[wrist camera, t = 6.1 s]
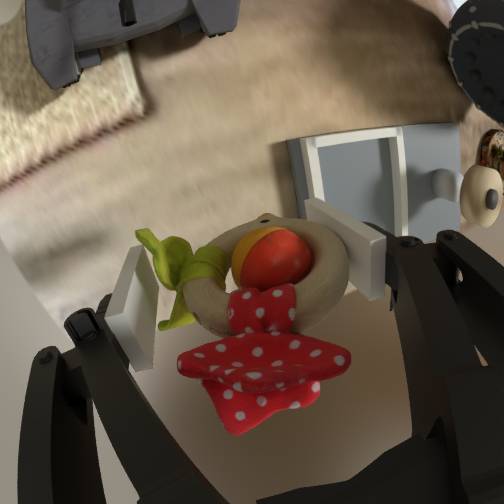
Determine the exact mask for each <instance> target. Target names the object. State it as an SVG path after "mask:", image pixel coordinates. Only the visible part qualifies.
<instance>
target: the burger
mask: <svg viewBox="0 0 504 504" xmlns="http://www.w3.org/2000/svg"><path fill="white" fill-rule="evenodd" d="M487 134H488V135H491V136H490V137H487V138H485V139H484V141H483V143H482V144H483V146H482V147H481V148H482V150H483V151H482V156H483V157H482V160H481V161H480V166H484V167H488V168H491V169H495V170H496V171H497V172H498V173H499V175H500V177H501V180H502V185H503V195H504V131H503V130H496V129H492V131H490V132H489V133H487Z"/></svg>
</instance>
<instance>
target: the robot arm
mask: <svg viewBox="0 0 504 504" xmlns="http://www.w3.org/2000/svg"><path fill="white" fill-rule="evenodd" d="M304 202H305V209H306V216H307V220H308V221H311V222H315V223H318V224H320V225H322V226H324V227H326V228H328V229H329V230H331V231H332V232H334V233H335V234H336V235H337V236H338V237H339V238H340V239H341V241H342V242H343V244H344V246H345V248H346V250H347V254H348V259H349V268H350V272H349V281H350V282H351V283H352V284H353V285H354V286H355V287H356V288H357V289H358V290H359V291H360V292H361V293H362V294H364V296H366V298H367V299H369V300H370V301H372V300H375V299H377V298H380V297H382V296H384V295H385V284H388V285H389V286H390V287H391V301H390V311H392V308H393V309H394V313H395V317H396V322H397V327H398V332H399V337H400V342H401V347H402V353H403V359H404V365H405V372H406V378H407V384H408V393H409V401H410V410H411V419H412V437H411V438H409V439H407V440H406V441H404V442H402V443H400V444H399V445H397V446H395V447H393V448H391V449H389V450H388V451H386V452H384V453H383V454H382V455H380V456H379V457H378V458H377V459H376V460H374V461H373V462H372V463H371V464H370V465H368V466H367V467H366V468H364V469H363V470H362V471H360V472H359V473H358V474H357V475H355V476H354V477H352V478H351V479H349V480H347V481H343V482H338V483H332V484H325V485H319V486H311V487H303V488H298V489H295V490H292V491H288V492H285V493H281V494H278V495H274V496H271V497H267V498H263V499H259V500H256V503H257V504H504V267H503V266H502V265H501V264H500V263H498V262H497V261H496V260H495V259H494V258H492V257H491V256H490V255H489V254H487V253H486V252H485V251H483V250H482V249H481V248H480V247H478V246H477V245H476V244H474V243H473V242H472V241H470V240H469V239H468V238H466V237H465V236H464V235H462V234H461V233H459V232H456V231H454V230H449V229H447V230H442V231H439V232H438V233H437V236H436V243H429V244H424V243H423V241H422V240H421V239H419V238H417V237H414V236H400V237H396V236H394V235H393V234H391V233H389V232H387V231H385V230H384V229H382V228H380V227H379V226H377V225H375V224H373V223H369V222H365V221H364V222H361V221H359V220H357V219H355V218H354V217H352V216H350V215H348V214H347V213H345V212H343V211H341V210H339V209H337V208H336V207H334V206H332V205H330V204H328V203H326V202H324V201H323V200H321V199H319V198H317V197H316V198H311V199H307V200H304ZM460 271H461V273H462V276H463V281H462V282H461V281H460V280H459V273H460ZM158 294H159V285H158V283H157V280H156V278H155V275H154V272H153V270H152V267H151V265H150V262H149V259H148V256H147V254H146V251H145V248H144V245H143V244H142V245H138V246H135V247H132V248H130V250H129V252H128V255H127V257H126V260H125V262H124V265H123V267H122V270H121V273H120V275H119V278H118V280H117V283H116V286H115V288H114V291H113V293H111V294H108V295H106V296H105V297H104V298H103V299H102V300H101V301H100V303H99V306H98V309H97V311H96V314H95V312H94V310H93V309H92V308H83V309H80V310H78V311H76V312H74V313H73V314H71V315H70V316H69V317H68V318H67V319H66V321H65V322H64V328H65V329H66V331H67V333H68V334H69V336H70V338H71V339H72V341H73V342H74V344H75V348H73V349H71V350H69V351H67V352H65V353H62V354H61V353H60V351H59V350H58V348H56V346H49V347H47V348H43V349H42V350H41V351H39V352H38V353H37V355H36V356H35V357H34V360H33V362H32V367H31V371H30V376H29V381H28V386H27V391H26V396H25V402H24V409H23V415H22V423H21V431H20V441H19V454H18V481H17V482H18V483H17V484H18V486H17V488H18V504H106V499H105V495H104V489H103V484H102V479H101V473H100V467H99V460H98V453H97V446H96V437H95V427H94V416H93V402H94V404H95V407H96V409H97V412H98V414H99V417H100V419H101V421H102V424H103V426H104V428H105V431H106V433H107V435H108V437H109V439H110V441H111V444H112V446H113V448H114V450H115V452H116V454H117V456H118V458H119V460H120V462H121V464H122V466H123V468H124V470H125V472H126V473H127V475H128V477H129V479H130V481H131V482H132V484H133V486H134V488H135V489H136V491H137V493H138V495H139V497H140V499H139V500H138V501H137V504H230V503H229V502H228V501H227V500H226V499H225V498H224V497H223V496H222V495H221V494H220V493H219V492H218V491H217V490H216V489H215V487H214V486H213V485H212V484H211V483H210V482H209V481H208V480H207V478H205V476H204V475H203V474H202V473H201V472H200V470H199V469H198V468H197V467H196V466H195V464H194V463H193V462H192V461H191V459H190V458H189V457H188V456H187V454H186V453H185V452H184V451H183V449H182V448H181V447H180V446H179V444H178V443H177V442H176V440H175V439H174V438H173V436H172V435H171V434H170V432H169V431H168V430H167V428H166V427H165V425H164V424H163V422H162V421H161V420H160V418H159V417H158V415H157V414H156V412H155V411H154V409H153V408H152V406H151V405H150V403H149V402H148V401H147V399H146V397H145V396H144V394H143V393H142V391H141V390H140V388H139V386H138V385H137V383H136V381H135V380H134V378H133V377H132V375H131V373H130V372H129V370H128V369H129V362H130V364H131V365H132V367H133V368H134V370H135V372H138V371H143V370H147V369H152V368H153V356H154V355H153V354H154V339H155V327H156V315H157V304H158ZM474 345H475V346H476V348H477V349H478V351H479V352H480V353H481V355H482V356H483V358H484V359H485V361H486V362H487V364H488V365H487V366H482V364H481V362H480V360H479V357H478V354H477V352H476V349H475V347H474ZM92 399H93V401H92Z"/></svg>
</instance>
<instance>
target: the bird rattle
mask: <svg viewBox="0 0 504 504" xmlns="http://www.w3.org/2000/svg"><path fill="white" fill-rule="evenodd" d="M135 234H136V237H137V239H138V240H139V241H140V242H141V243H142V244H143V245H144V246H145V247H146V248H147V249H148V250H149V251H150V252H151V253H152V255H153V264H154V268H155V272H156V274H157V277H158V279H159V281H160V282H161V283H162V284H163V285H164V286H165V287H166V288H167V289H169V290H175V291H176V292H177V294H176V299H175V303H174V307H173V310H172V313H171V316H170V320H164V321H160V322H159V324H158V329H159V330H160V331H165V330H168V329H171V328H175V327H180V326H184V325H188V324H190V323H192V322H194V321H197V322H198V323H199V324H200V325H201V326H203V327H204V328H205V329H206V330H208V331H209V332H211V333H212V334H214V335H216V336H219V337H221V338H224V339H222V340H219V341H215V342H211V343H207V344H204V345H202V346H200V347H197V348H195V349H192V350H190V351H187V352H184V353H182V354H181V355H179V356H178V359H177V369H178V372H179V373H180V374H182V375H183V376H186V377H189V378H197V380H198V382H199V383H200V384H201V385H202V386H203V387H204V388H205V389H206V391H207V393H208V394H209V396H210V397H211V400H212V402H213V404H214V406H215V408H216V411H217V413H218V415H219V418H220V419H221V422H222V424H223V426H224V428H225V429H226V430H227V431H228V432H229V433H230V434H232V435H241V434H242V433H244V432H246V431H248V430H249V429H251V428H253V427H255V426H256V425H258V424H259V423H261V422H262V421H264V420H265V419H266V418H268V417H269V416H271V415H272V414H273V413H275V412H277V411H280V410H283V409H291V408H303V407H306V406H308V405H310V404H311V403H313V402H314V401H315V399H316V398H317V397H318V396H319V394H320V382H319V381H322V380H326V379H330V378H333V377H336V376H339V375H341V374H343V373H344V372H345V371H347V369H348V368H349V366H350V364H351V353H350V352H349V351H348V350H347V349H345V348H342V347H340V346H337V345H335V344H331V343H329V342H325V341H321V340H318V339H316V338H313V337H310V336H306V335H301V334H302V333H303V332H305V331H307V330H309V329H310V328H312V327H314V326H315V325H316V324H318V323H319V322H320V321H322V320H323V319H324V318H325V317H326V316H327V315H329V314H330V313H331V311H332V310H333V309H334V308H335V307H336V306H337V304H338V303H339V301H340V300H341V298H342V296H343V294H344V292H345V290H346V287H347V284H348V280H349V272H350V268H349V259H348V254H347V250H346V248H345V246H344V244H343V242H342V241H341V239H340V238H339V237H338V236H337V235H336V234H335V233H334V232H332V231H331V230H329V229H328V228H326V227H324V226H322V225H320V224H318V223H315V222H311V221H308V220H303V219H297V218H281V217H276V216H274V215H273V214H270V213H265V214H263V215H261V216H260V217H258V218H257V219H256V220H254V221H251V222H248V223H245V224H243V225H240V226H237V227H235V228H233V229H231V230H229V231H227V232H225V233H223V234H222V235H220V236H218V237H217V238H215V239H213V240H212V241H211V242H209V243H208V244H207V245H205V246H203V247H201V248H199V249H198V250H197V251H196V252H195V254H194V255H193V252H192V249H191V246H190V244H189V243H188V242H187V241H186V240H184V239H183V238H180V237H176V236H171V237H168V238H166V239H165V240H163V241H161V242H160V241H159V240H158V239H157V238H156V237H155V236H154V234H153V233H152V232H151V231H150V230H149V229H148V228H145V229H140V230H136V231H135ZM230 268H231V271H232V276H233V279H234V282H235V284H236V285H237V287H238V289H237V290H235V291H232V292H231V293H230V294H229V293H227V292H225V290H226V284H225V279H226V276H227V273H228V271H229V269H230Z"/></svg>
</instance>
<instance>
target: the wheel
mask: <svg viewBox="0 0 504 504" xmlns="http://www.w3.org/2000/svg"><path fill="white" fill-rule="evenodd" d="M502 198H503V185H502V180H501V177H500V175H499V173H498V172H497V171H496V170H495V169H491V168H488V167H484V166H480V165H474V166H472V167H470V168H469V169H468V171H467V172H466V174H465V176H464V178H463V181H462V184H461V188H460V196H459V203H460V210H461V213H462V215H463V217H464V218H465V219H466V220H467V221H470V222H472V223H474V224H477V225H479V226H481V227H484V228H485V227H489V226H490V225H491V224H492V223H493V222H494V221H495V219H496V218H497V216H498V213H499V211H500V208H501V204H502Z"/></svg>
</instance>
